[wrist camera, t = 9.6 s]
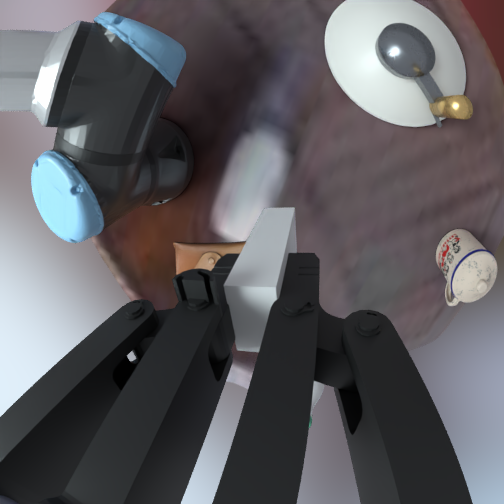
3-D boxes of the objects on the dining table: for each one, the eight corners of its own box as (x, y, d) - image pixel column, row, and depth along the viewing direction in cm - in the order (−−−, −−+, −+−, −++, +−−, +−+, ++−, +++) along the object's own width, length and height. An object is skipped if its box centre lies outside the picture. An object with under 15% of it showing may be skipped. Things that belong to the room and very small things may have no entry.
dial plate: (298, 72, 32) (297, 70, 31) (360, -26, 21) (361, -30, 20) (424, 155, 33) (428, 157, 31) (478, 56, 22) (483, 54, 20)
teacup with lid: (444, 220, 36) (475, 254, 26) (482, 233, 35) (514, 267, 25) (420, 282, 42) (438, 325, 32) (457, 290, 41) (478, 330, 31)
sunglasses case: (263, 236, 46) (258, 272, 42) (271, 258, 51) (268, 291, 48) (170, 241, 51) (160, 272, 47) (186, 260, 56) (178, 289, 53)
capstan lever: (363, 42, 26) (373, 24, 19) (403, 21, 22) (420, 3, 16) (423, 128, 30) (446, 132, 23) (461, 105, 26) (488, 106, 19)
